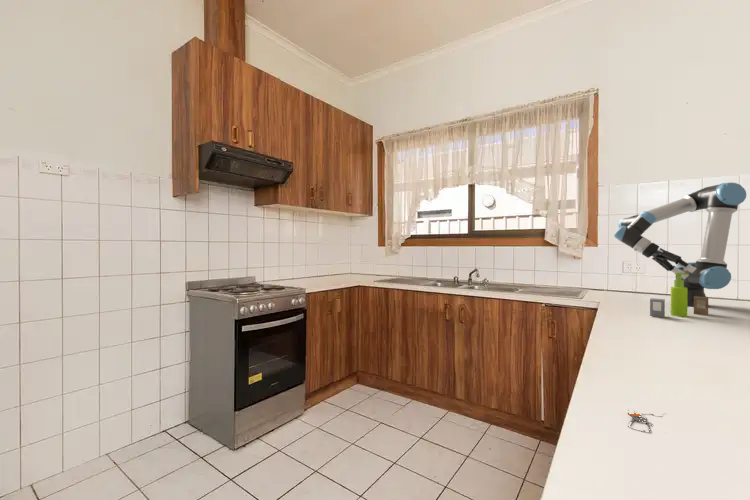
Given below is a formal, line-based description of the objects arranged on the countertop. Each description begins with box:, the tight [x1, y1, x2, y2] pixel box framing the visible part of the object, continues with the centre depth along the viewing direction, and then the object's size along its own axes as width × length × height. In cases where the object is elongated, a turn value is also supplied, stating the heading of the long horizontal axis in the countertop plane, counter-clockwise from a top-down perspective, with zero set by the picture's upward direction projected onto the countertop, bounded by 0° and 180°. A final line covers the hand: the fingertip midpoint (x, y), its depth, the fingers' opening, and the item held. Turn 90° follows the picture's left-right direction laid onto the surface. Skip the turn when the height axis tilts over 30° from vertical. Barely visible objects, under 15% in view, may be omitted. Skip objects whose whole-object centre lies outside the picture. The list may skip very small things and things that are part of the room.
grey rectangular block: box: [649, 297, 666, 319], centre depth 161 cm, size 5×5×8 cm
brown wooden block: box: [693, 296, 709, 316], centre depth 166 cm, size 5×5×8 cm
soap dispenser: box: [670, 273, 689, 317], centre depth 163 cm, size 6×7×20 cm
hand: (690, 274), depth 168 cm, fingers open, 13 cm apart
